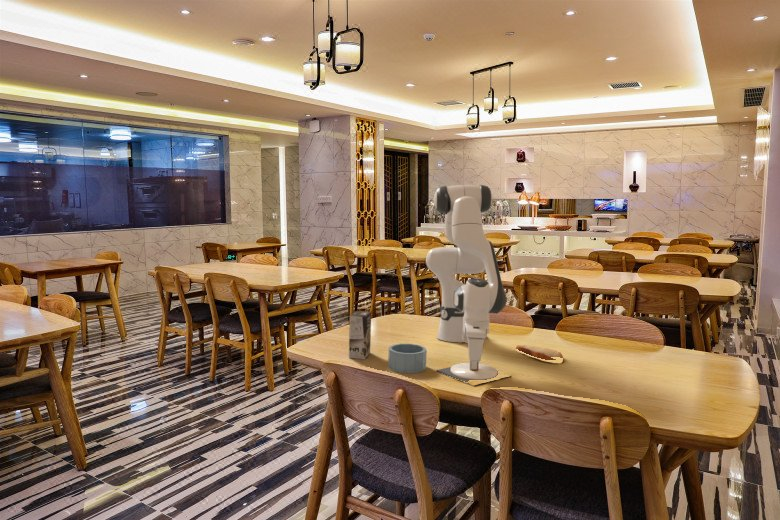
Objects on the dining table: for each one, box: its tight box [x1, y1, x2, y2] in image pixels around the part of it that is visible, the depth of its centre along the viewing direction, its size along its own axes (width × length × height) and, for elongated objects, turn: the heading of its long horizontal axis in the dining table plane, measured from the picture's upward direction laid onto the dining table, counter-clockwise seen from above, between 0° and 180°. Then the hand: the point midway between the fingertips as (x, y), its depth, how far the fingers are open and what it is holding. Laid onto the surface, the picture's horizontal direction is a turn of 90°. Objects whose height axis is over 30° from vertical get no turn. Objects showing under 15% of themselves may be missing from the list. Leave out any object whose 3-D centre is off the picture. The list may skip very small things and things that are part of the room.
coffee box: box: [348, 310, 372, 360], centre depth 208 cm, size 9×6×16 cm
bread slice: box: [515, 344, 564, 360], centre depth 214 cm, size 18×18×4 cm
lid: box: [450, 360, 499, 380], centre depth 190 cm, size 16×16×4 cm
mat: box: [436, 366, 469, 382], centre depth 190 cm, size 18×18×1 cm
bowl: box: [387, 343, 427, 374], centre depth 195 cm, size 13×13×7 cm
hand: (474, 366), depth 190 cm, fingers closed on lid, 3 cm apart
